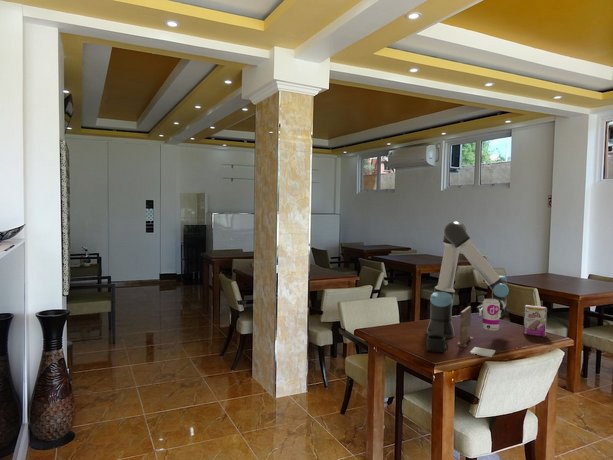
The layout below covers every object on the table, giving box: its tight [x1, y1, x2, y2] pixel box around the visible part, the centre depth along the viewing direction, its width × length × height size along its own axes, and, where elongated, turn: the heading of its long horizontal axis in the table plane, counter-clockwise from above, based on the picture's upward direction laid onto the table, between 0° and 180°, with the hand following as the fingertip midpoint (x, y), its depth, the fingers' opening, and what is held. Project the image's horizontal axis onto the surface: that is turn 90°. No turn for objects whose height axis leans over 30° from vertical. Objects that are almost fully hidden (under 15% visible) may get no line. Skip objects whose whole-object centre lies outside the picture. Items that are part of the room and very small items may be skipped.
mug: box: [426, 334, 449, 353], centre depth 223 cm, size 12×9×7 cm
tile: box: [469, 346, 496, 358], centre depth 223 cm, size 10×10×1 cm
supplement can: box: [481, 298, 500, 331], centre depth 232 cm, size 8×8×15 cm
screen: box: [456, 305, 474, 348], centre depth 239 cm, size 4×18×18 cm, turn 147°
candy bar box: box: [523, 304, 548, 338], centre depth 256 cm, size 11×5×16 cm, turn 58°
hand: (489, 314), depth 228 cm, fingers closed on supplement can, 8 cm apart
